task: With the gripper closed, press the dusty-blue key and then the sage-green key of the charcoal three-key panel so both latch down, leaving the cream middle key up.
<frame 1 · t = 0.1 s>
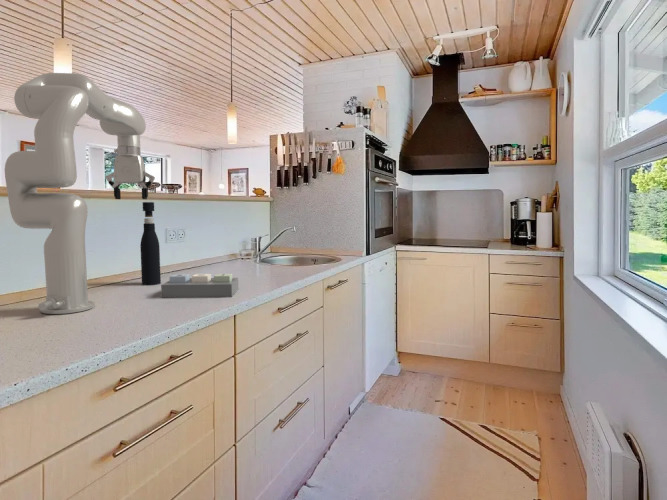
hand: (131, 199, 158), 31 cm above the worktop, tool pointing down, fingers open, 9 cm apart
key sage: (223, 279, 139), point 5 cm above the worktop, slide at 0.0 cm
key cream: (201, 279, 138), point 5 cm above the worktop, slide at 0.0 cm
wine bottle: (151, 284, 156), on the worktop
key blue: (179, 279, 138), point 5 cm above the worktop, slide at 0.0 cm
key panel: (202, 293, 139), on the worktop
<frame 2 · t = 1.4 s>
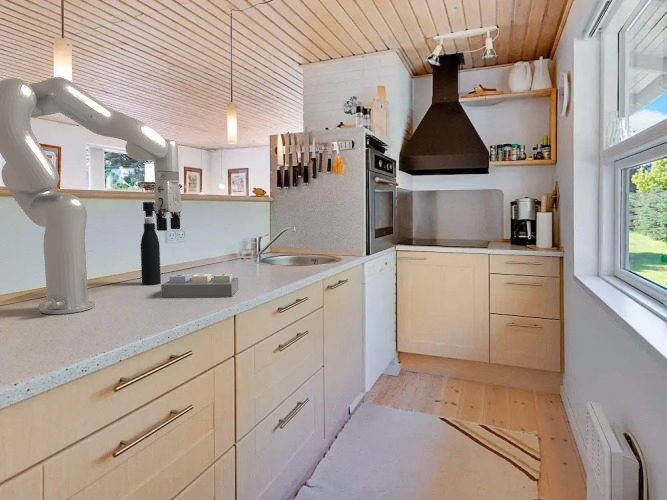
hand: (169, 229, 141), 21 cm above the worktop, tool pointing down, fingers open, 9 cm apart
nothing on the worktop moved.
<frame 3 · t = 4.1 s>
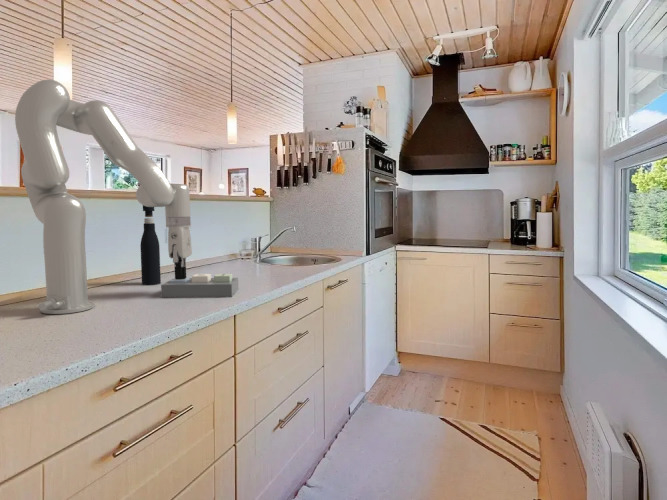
hand: (180, 278, 138), 5 cm above the worktop, tool pointing down, fingers closed
key blue: (180, 283, 138), point 3 cm above the worktop, slide at 1.3 cm, touching gripper
everything else where it was.
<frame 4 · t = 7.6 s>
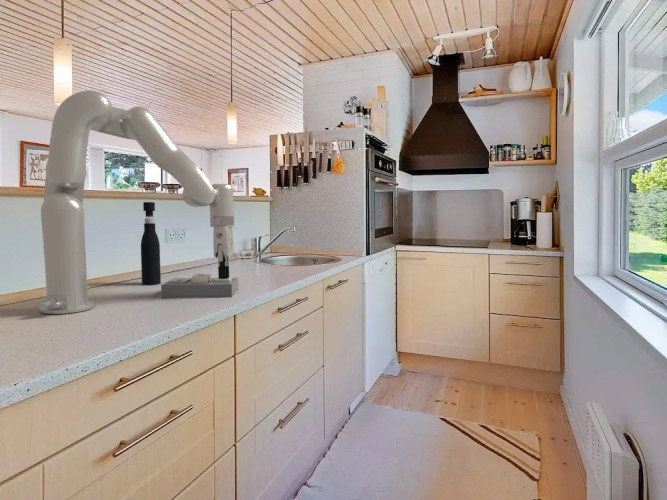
hand: (223, 278, 139), 5 cm above the worktop, tool pointing down, fingers closed
key sage: (223, 282, 139), point 3 cm above the worktop, slide at 1.2 cm, touching gripper
key blue: (180, 284, 138), point 3 cm above the worktop, slide at 1.6 cm
everything else where it was.
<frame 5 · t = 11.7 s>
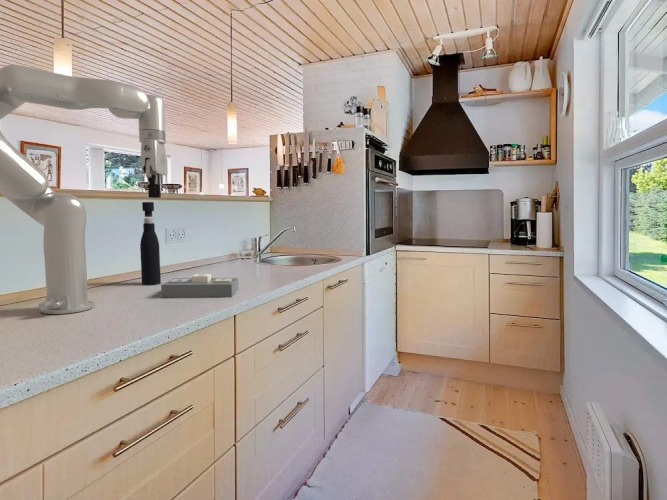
hand: (154, 197, 132), 31 cm above the worktop, tool pointing down, fingers closed
key sage: (223, 284, 139), point 3 cm above the worktop, slide at 1.6 cm
everything else where it was.
at the end: key blue slide at 1.6 cm; key sage slide at 1.6 cm; key cream slide at 0.0 cm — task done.
